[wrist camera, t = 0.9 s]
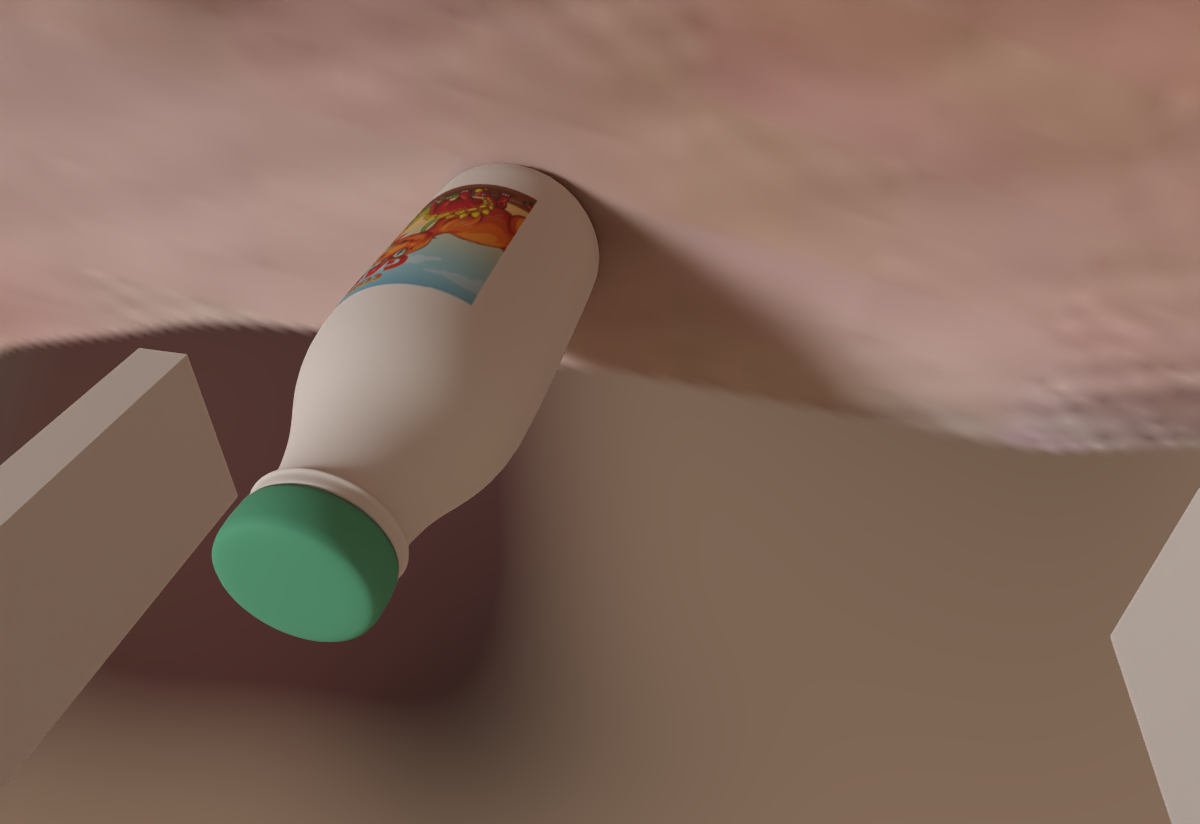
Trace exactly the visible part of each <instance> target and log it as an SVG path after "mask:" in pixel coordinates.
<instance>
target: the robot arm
mask: <svg viewBox="0 0 1200 824" xmlns="http://www.w3.org/2000/svg"><path fill="white" fill-rule="evenodd" d="M237 496H238V495H237V492H236V489H235V486H234V484H233V481H232V478H231V475H230V473H229V470H228V467H227V464H226V461H225V459H224V456H223V453H222V451H221V448H220V445H219V442H218V439H217V437H216V434H215V431H214V428H213V425H212V423H211V420H210V417H209V414H208V412H207V409H206V406H205V403H204V400H203V398H202V395H201V392H200V389H199V387H198V384H197V381H196V378H195V376H194V373H193V370H192V367H191V364H190V361H189V359H188V356H187V354H180V353H172V352H164V351H157V350H149V349H142V348H139V349H137V350H136V351H135V352H134V353H133V354H132V355H130V356H129V357H128V358H127V359H126V360H125V361H123V362H122V363H121V364H120V365H119V366H118V367H116V368H115V369H114V370H113V371H112V372H110V373H109V374H108V375H107V376H106V377H104V378H103V379H102V380H101V381H100V382H98V384H96V385H95V386H94V387H93V388H91V389H90V390H89V391H88V392H87V393H85V394H84V395H83V396H82V397H81V398H80V399H78V400H77V401H76V402H75V403H74V404H73V405H71V406H70V407H69V408H68V409H67V410H65V411H64V412H63V413H62V414H61V415H60V416H58V417H57V418H56V419H55V420H54V421H52V422H51V423H50V424H49V425H48V426H47V427H45V428H44V429H43V430H42V431H41V432H39V433H38V434H37V435H36V436H35V437H34V438H32V439H31V440H30V441H29V442H28V443H26V444H25V445H24V446H23V447H22V448H21V449H20V450H18V451H17V452H16V453H15V454H13V455H12V456H11V457H10V458H9V459H8V460H6V461H5V462H4V463H3V464H2V465H0V791H1V790H2V788H3V787H4V786H5V784H6V783H7V782H8V781H9V780H10V778H11V777H12V776H13V775H14V773H15V772H16V771H17V770H18V768H19V767H20V766H21V765H22V763H23V762H24V761H25V760H26V759H27V757H28V756H29V755H30V754H31V752H32V751H33V750H34V749H35V747H36V746H37V745H38V744H39V742H40V741H41V740H42V739H43V737H44V736H45V735H46V734H47V733H48V731H49V730H50V729H51V728H52V726H53V725H54V724H55V723H56V721H57V720H58V719H59V717H60V716H61V715H62V714H63V712H64V711H65V710H66V709H67V708H68V706H69V705H70V704H71V703H72V702H73V700H74V699H75V698H76V697H77V695H78V694H79V693H80V692H81V690H82V689H83V688H84V687H85V685H86V684H87V683H88V682H89V680H90V679H91V678H92V677H93V675H94V674H95V673H96V672H97V670H98V669H99V668H100V667H101V665H102V664H103V663H104V662H105V661H106V659H107V658H108V657H109V656H110V654H111V653H112V652H113V651H114V649H115V648H116V647H117V646H118V644H119V643H120V642H121V641H122V639H123V638H124V637H125V636H126V634H127V633H128V632H129V631H130V629H131V628H132V627H133V626H134V625H135V623H136V622H137V621H138V620H139V618H140V617H141V616H142V615H143V613H144V612H145V611H146V610H147V608H148V607H149V606H150V605H151V603H152V602H153V601H154V600H155V598H156V597H157V596H158V595H159V593H160V592H161V591H162V590H163V589H164V587H165V586H166V585H167V583H168V582H169V581H170V580H171V579H172V577H173V576H174V575H175V574H176V572H177V571H178V570H179V569H180V567H181V566H182V565H183V564H184V562H185V561H186V560H187V559H188V557H189V556H190V555H191V553H192V552H193V551H194V550H195V549H196V548H197V546H198V545H199V543H200V542H201V541H202V540H203V539H204V538H205V536H206V535H207V534H208V533H209V531H210V530H211V528H213V526H214V525H215V524H216V523H217V521H218V520H219V519H220V518H221V516H222V515H223V514H224V513H225V512H226V510H227V509H228V508H229V506H230V505H231V504H232V503H233V502H234V500H235V499H236V498H237ZM1110 637H1111V641H1112V644H1113V647H1114V650H1115V653H1116V656H1117V659H1118V662H1119V665H1120V668H1121V671H1122V674H1123V677H1124V680H1125V683H1126V686H1127V689H1128V692H1129V696H1130V698H1131V701H1132V704H1133V708H1134V710H1135V714H1136V717H1137V720H1138V723H1139V726H1140V729H1141V732H1142V735H1143V738H1144V741H1145V744H1146V747H1147V750H1148V753H1149V756H1150V759H1151V762H1152V766H1153V768H1154V772H1155V775H1156V778H1157V781H1158V784H1159V787H1160V790H1161V793H1162V795H1163V799H1164V802H1165V805H1166V808H1167V811H1168V814H1169V817H1170V820H1171V823H1172V824H1200V488H1199V489H1198V491H1197V492H1196V494H1195V496H1194V497H1193V499H1192V501H1191V502H1190V504H1189V506H1188V507H1187V509H1186V511H1185V513H1184V514H1183V516H1182V517H1181V519H1180V521H1179V522H1178V524H1177V526H1176V527H1175V529H1174V531H1173V532H1172V534H1171V536H1170V537H1169V539H1168V541H1167V542H1166V544H1165V546H1164V547H1163V549H1162V551H1161V553H1160V554H1159V556H1158V557H1157V559H1156V561H1155V562H1154V564H1153V566H1152V567H1151V569H1150V571H1149V572H1148V574H1147V576H1146V577H1145V579H1144V581H1143V582H1142V584H1141V586H1140V587H1139V589H1138V591H1137V592H1136V594H1135V596H1134V597H1133V599H1132V601H1131V602H1130V604H1129V606H1128V607H1127V609H1126V611H1125V612H1124V614H1123V616H1122V617H1121V619H1120V621H1119V623H1118V624H1117V626H1116V627H1115V629H1114V631H1113V632H1112V634H1111V636H1110Z"/></svg>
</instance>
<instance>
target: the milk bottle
mask: <svg viewBox="0 0 1200 824" xmlns="http://www.w3.org/2000/svg"><path fill="white" fill-rule="evenodd" d="M598 268H599V247H598V242H597V238H596V234H595V231H594V228H593V226H592V223H591V221H590V219H589V217H588V215H587V213H586V212H585V211H584V209H583V208H582V206H581V205H580V203H579V202H578V200H577V199H576V198H575V197H574V196H573V195H572V194H571V193H570V192H569V191H568V190H567V189H566V188H565V187H564V186H563V185H561V184H560V183H558V182H557V181H555V180H554V179H553V178H551V177H550V176H548V175H546V174H543V173H541V172H539V171H537V170H535V169H532V168H528V167H524V166H521V165H517V164H507V163H493V164H485V165H480V166H477V167H474V168H471V169H469V170H466V171H464V172H463V173H461V174H459V175H457V176H456V177H455V178H454V179H452V180H451V181H450V182H449V183H448V184H447V185H446V186H445V187H444V188H443V189H442V190H441V191H440V192H439V193H438V194H437V195H436V196H435V197H434V198H433V199H432V200H431V201H430V202H429V203H428V204H427V205H426V206H425V207H424V209H423V210H422V211H421V212H420V213H419V214H418V215H417V216H416V217H415V218H414V219H413V221H412V222H411V223H410V224H409V225H408V226H407V227H406V228H405V229H404V230H403V232H402V233H401V234H400V235H399V236H398V237H397V238H396V239H395V240H394V241H393V242H392V244H391V245H390V246H389V247H388V248H387V249H386V250H385V251H384V252H383V254H382V255H381V256H380V257H379V258H378V259H377V260H376V261H375V263H374V264H373V265H372V266H371V267H370V268H369V269H368V270H367V272H366V273H365V274H364V275H363V276H362V277H361V278H360V279H359V281H358V282H357V283H356V284H355V285H354V286H353V287H352V288H351V290H350V291H349V292H348V293H347V295H346V296H345V297H344V298H343V300H342V301H341V302H340V303H339V305H338V306H337V307H336V308H335V310H334V311H333V312H332V313H331V315H330V316H329V317H328V318H327V320H326V321H325V322H324V324H323V325H322V327H321V328H320V330H319V332H318V333H317V335H316V337H315V338H314V340H313V342H312V343H311V345H310V347H309V349H308V352H307V354H306V357H305V359H304V361H303V364H302V366H301V369H300V373H299V376H298V380H297V384H296V389H295V395H294V403H293V412H292V423H291V430H290V436H289V441H288V445H287V448H286V451H285V454H284V457H283V460H282V462H281V465H280V467H279V469H278V470H276V471H273V472H271V473H269V474H267V475H265V476H263V477H262V478H261V479H260V480H259V481H258V482H257V483H256V484H255V485H254V487H253V488H252V490H251V493H250V495H248V496H247V497H246V498H245V499H244V500H243V501H242V502H241V503H240V504H239V505H238V507H237V508H236V509H235V510H234V511H233V512H232V513H231V515H230V516H229V517H228V519H227V520H226V522H225V523H224V525H223V526H222V527H221V529H220V530H219V532H218V534H217V536H216V539H215V542H214V544H213V548H212V561H213V565H214V568H215V571H216V573H217V575H218V577H219V579H220V581H221V583H222V585H223V586H224V588H225V589H226V590H227V592H228V593H229V594H230V595H231V596H232V598H234V600H236V602H237V603H238V604H240V605H241V606H242V607H243V608H244V609H245V610H247V611H248V612H249V613H251V614H252V615H253V616H255V617H256V618H258V619H259V620H261V621H262V622H264V623H266V624H268V625H270V626H272V627H273V628H275V629H278V630H280V631H282V632H285V633H287V634H290V635H293V636H296V637H299V638H303V639H307V640H313V641H320V642H337V641H346V640H350V639H354V638H356V637H359V636H360V635H362V634H364V633H365V632H367V631H368V630H369V629H370V628H371V627H372V626H373V625H374V623H376V622H377V620H378V619H379V617H380V615H381V613H382V612H383V610H384V609H385V607H386V605H387V604H388V602H389V600H390V597H391V595H392V593H393V591H394V589H395V587H396V584H397V580H398V578H399V577H400V576H401V575H402V574H403V572H404V571H405V568H406V567H407V563H408V557H409V549H408V545H409V544H410V543H411V542H412V541H413V540H414V539H415V538H416V537H417V536H418V535H419V534H420V533H421V532H422V531H423V530H424V529H425V528H426V527H428V526H429V525H430V524H431V523H433V522H434V521H435V520H437V519H438V518H440V517H441V516H443V515H444V514H446V513H448V512H449V511H451V510H453V509H454V508H456V507H458V506H459V505H461V504H462V503H464V502H465V501H467V500H469V499H470V498H472V497H473V496H474V495H476V494H477V493H478V492H479V491H481V490H482V489H483V488H484V487H485V486H486V485H488V484H489V483H490V482H491V481H492V480H493V479H494V478H495V477H496V475H497V474H498V473H499V472H500V471H501V470H502V469H503V468H504V467H505V465H506V464H507V462H508V461H509V460H510V458H511V456H512V455H513V454H514V452H515V451H516V449H517V448H518V447H519V445H520V443H521V441H522V439H523V438H524V436H525V434H526V432H527V430H528V428H529V426H530V424H531V422H532V420H533V418H534V417H535V415H536V413H537V411H538V409H539V407H540V405H541V403H542V400H543V398H544V396H545V394H546V392H547V390H548V388H549V385H550V383H551V381H552V379H553V377H554V375H555V373H556V370H557V368H558V366H559V364H560V362H561V360H562V357H563V355H564V353H565V351H566V348H567V346H568V344H569V342H570V340H571V337H572V335H573V333H574V331H575V328H576V326H577V324H578V322H579V320H580V317H581V315H582V313H583V310H584V308H585V306H586V304H587V301H588V299H589V297H590V294H591V292H592V289H593V286H594V284H595V281H596V278H597V274H598Z"/></svg>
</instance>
